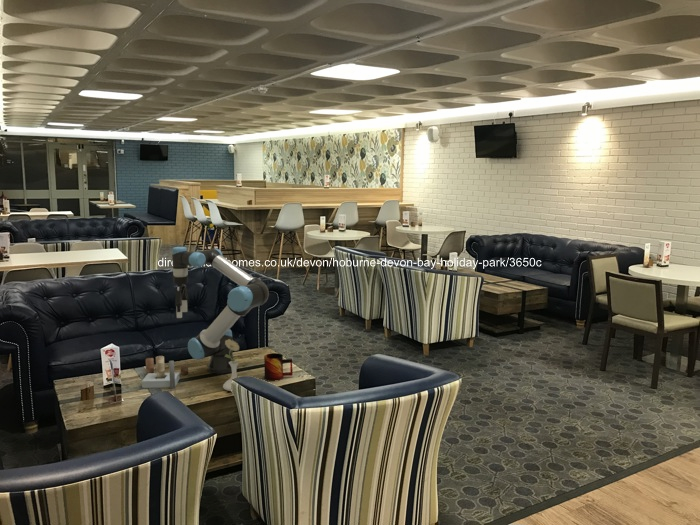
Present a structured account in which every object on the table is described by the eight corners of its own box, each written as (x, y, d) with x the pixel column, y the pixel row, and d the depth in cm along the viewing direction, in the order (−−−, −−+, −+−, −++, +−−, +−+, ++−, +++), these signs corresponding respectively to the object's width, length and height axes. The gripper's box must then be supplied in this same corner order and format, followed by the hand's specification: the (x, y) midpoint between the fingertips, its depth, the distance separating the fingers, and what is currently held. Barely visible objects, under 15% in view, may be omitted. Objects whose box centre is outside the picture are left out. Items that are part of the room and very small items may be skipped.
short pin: (189, 373, 302) (188, 364, 301) (187, 375, 298) (187, 366, 297) (181, 373, 301) (181, 364, 301) (179, 375, 297) (179, 366, 297)
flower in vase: (250, 389, 278) (249, 340, 275) (231, 394, 271) (229, 345, 267) (236, 382, 288) (234, 335, 284) (216, 388, 280) (215, 339, 276)
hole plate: (181, 378, 293) (180, 353, 291) (174, 389, 278) (173, 362, 276) (148, 379, 291) (147, 353, 289) (140, 390, 277) (138, 362, 275)
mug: (293, 377, 295) (293, 355, 293) (269, 382, 288) (268, 359, 286) (285, 372, 303) (285, 351, 302) (261, 376, 296) (261, 355, 294)
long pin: (166, 381, 288) (164, 355, 286) (164, 384, 284) (162, 358, 282) (158, 382, 288) (156, 355, 286) (156, 384, 284) (154, 358, 282)
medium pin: (155, 373, 300) (154, 357, 299) (153, 376, 296) (152, 360, 295) (147, 374, 300) (146, 358, 299) (145, 376, 296) (144, 360, 295)
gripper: (178, 272, 309) (180, 309, 312) (167, 279, 284) (169, 320, 287) (192, 272, 310) (193, 309, 312) (182, 279, 285) (184, 320, 288)
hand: (182, 314), depth 300 cm, fingers open, 13 cm apart
